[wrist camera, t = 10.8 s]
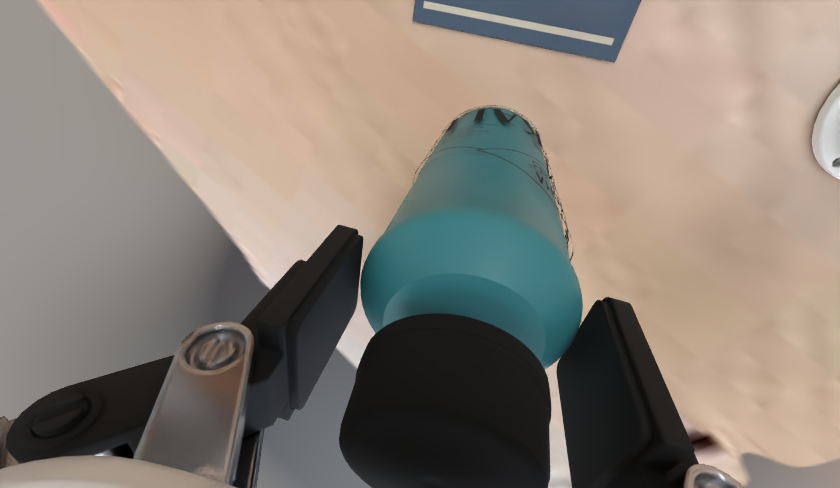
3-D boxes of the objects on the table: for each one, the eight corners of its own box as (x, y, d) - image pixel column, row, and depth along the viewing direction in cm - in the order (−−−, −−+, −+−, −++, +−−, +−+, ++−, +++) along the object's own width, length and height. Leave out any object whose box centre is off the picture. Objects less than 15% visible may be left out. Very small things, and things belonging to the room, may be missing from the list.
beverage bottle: (480, 214, 25) (426, 577, 9) (419, 142, 23) (202, 426, 7) (563, 158, 22) (733, 566, 5) (500, 70, 20) (465, 278, 4)
